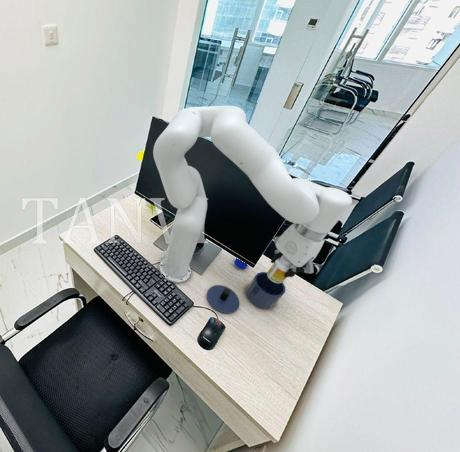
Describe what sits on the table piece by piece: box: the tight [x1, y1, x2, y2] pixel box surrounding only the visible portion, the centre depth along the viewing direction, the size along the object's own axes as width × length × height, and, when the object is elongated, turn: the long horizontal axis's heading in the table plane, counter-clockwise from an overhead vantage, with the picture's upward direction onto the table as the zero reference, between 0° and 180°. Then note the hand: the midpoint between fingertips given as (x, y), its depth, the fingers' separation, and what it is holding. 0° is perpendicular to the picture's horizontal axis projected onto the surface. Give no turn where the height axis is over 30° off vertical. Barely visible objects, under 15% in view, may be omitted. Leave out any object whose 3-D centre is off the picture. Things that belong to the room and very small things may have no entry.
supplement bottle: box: [266, 255, 293, 283], centre depth 84 cm, size 5×5×10 cm
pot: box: [245, 271, 286, 310], centre depth 93 cm, size 10×10×8 cm
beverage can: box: [233, 257, 249, 270], centre depth 101 cm, size 5×5×15 cm
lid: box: [206, 284, 240, 314], centre depth 92 cm, size 11×11×6 cm
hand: (281, 268), depth 84 cm, fingers closed on supplement bottle, 5 cm apart
